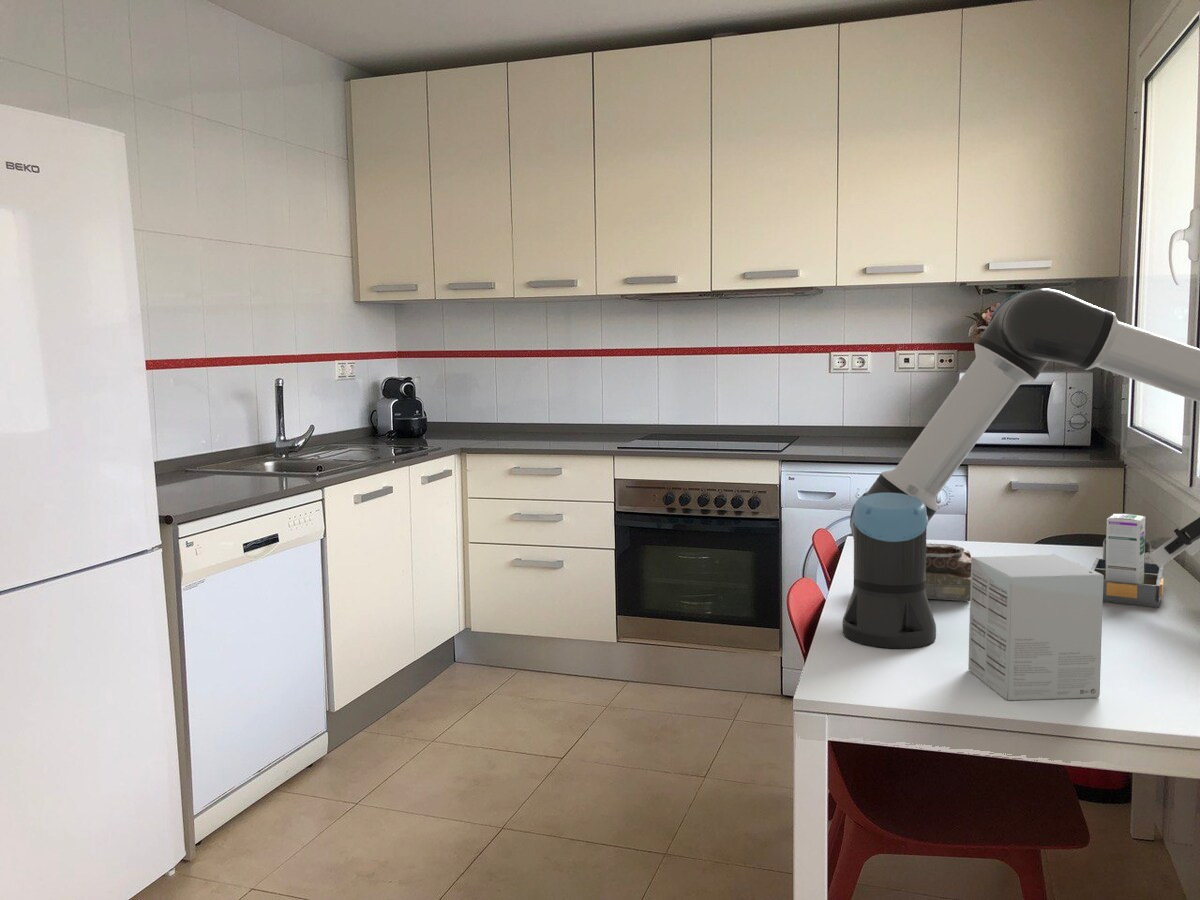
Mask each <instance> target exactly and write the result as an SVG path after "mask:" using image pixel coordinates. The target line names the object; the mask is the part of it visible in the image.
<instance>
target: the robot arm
mask: <svg viewBox="0 0 1200 900" xmlns="http://www.w3.org/2000/svg"><path fill="white" fill-rule="evenodd" d="M973 347H974V351H975V352H974V353H975V359H973V361H972V363H971V364H970V366H969V367H968V368H967V370H966V371H965V372H964V374H962V376H961V378H960V380H958V382H957V383H956V385H955V387H954V388H953V389H952V390H951V391H950V393H949V394H948V395H947V397H946V398H945V400H944V401H943V403H942V404H941V405H940V407H939V408H938V409H937V411H936V412H935V414H934V415H933V416H932V418H931V419H930V420H929V421H928V423H927V425H926V426H925V427H924V428H923V430H922V431H921V433H920V434H919V435H918V437H917V438H916V440H914V442H913V444H911V446H910V447H909V449H908V451H907V452H906V453H905V455H903V457H902V459H901V460H900V461H899V462H898V464H897V465H896V467H895V468H894V469H891V470H885V471H882V472H881V473H880V474H879V476H878V477H877V479H876V480H874V482H873V484H872V485H871V487H870V488H869V489H868V491H866V492H865V493H862V495H861V496H859V498H857V500H856V501H855V503H854V504H853V507H852V509H851V511H850V516H849V518H850V519H849V527H850V529H851V531H850V532H851V535H852V539H853V587H852V591H851V595H850V598H849V601H848V604H847V607H846V609H845V612H844V615H843V617H842V634H843V636H844V637H846V638H847V639H849V640H852V641H853V642H855V641H856V642H855V643H858V642H859V644H862V643H863V644H862V645H866V644H868V645H867V646H871V645H872V647H878V648H886V649H887V648H889V649H911V648H919V647H924V646H927V645H931V644H932V643H934V642H935V641H936V638H937V624H936V621H935V618H934V615H933V611H932V609H931V605H930V603H929V598H927V596H926V543H927V528H928V525H929V522H930V520H931V519H932V518H933V516H934V515H935V514H936V513H937V511H938V509H939V508H938V504H937V503H938V502H937V496H938V495H939V494H940V492H941V491H942V490H943V488H944V487H945V485H946V484H947V483H948V481H949V480H950V479H951V478H952V476H953V475H954V474H955V472H956V471H957V469H959V467H960V465H961V464H962V463H963V461H965V459H966V457H967V456H968V455H969V453H970V452H971V451H972V449H973V448H974V447H975V445H976V444H977V443H978V441H980V439H981V437H982V436H983V435H984V433H985V432H986V430H987V429H989V427H990V425H991V423H993V421H994V420H995V418H997V416H998V414H999V413H1000V412H1001V410H1002V409H1003V408H1004V407H1005V405H1006V404H1007V403H1008V401H1009V400H1010V399H1011V397H1012V396H1013V394H1015V392H1016V390H1017V389H1018V388H1019V386H1020V385H1023V384H1027V383H1029V384H1030V383H1033V382H1035V381H1036V379H1038V377H1039V375H1040V374H1041V372H1042V371H1043V370H1044V369H1045V368H1046V366H1047V365H1048V363H1049V362H1053V363H1061V364H1065V365H1069V366H1073V367H1076V368H1080V369H1082V370H1085V371H1088V370H1091V369H1094V368H1099V369H1102V370H1105V371H1107V372H1110V373H1112V374H1113V373H1114V374H1116V375H1119V376H1121V377H1125V378H1128V379H1131V380H1134V381H1137V382H1140V383H1142V384H1145V385H1148V386H1151V387H1154V388H1158V389H1160V390H1163V391H1166V392H1169V393H1171V394H1174V395H1177V396H1181V397H1183V398H1185V399H1189V400H1192V401H1195V402H1197V403H1200V348H1198V347H1194V346H1191V345H1189V344H1186V343H1183V342H1180V341H1177V340H1175V339H1172V338H1168V337H1165V336H1162V335H1159V334H1156V333H1153V332H1151V331H1147V330H1145V329H1142V328H1139V327H1137V326H1134V325H1133V326H1132V325H1130V324H1127V323H1124V322H1122V321H1119V320H1118V318H1117V316H1116V313H1115V312H1112V311H1110V310H1107V309H1104V308H1101V307H1098V306H1097V305H1093V304H1092V303H1089V302H1086V301H1084V300H1083V299H1080V298H1078V297H1075V296H1073V295H1071V294H1068V293H1065V292H1063V291H1061V290H1057V289H1053V288H1037V289H1033V290H1028V291H1022V292H1019V293H1015V294H1012V295H1011V296H1009V297H1007V298H1006V299H1005V300H1003V301H1002V302H1001V303H1000V304H999V305H998V306H997V307H996V308H995V309H994V311H993V313H992V315H991V317H990V320H989V324H988V325H987V327H986V328H985V330H984V331H983V333H981V335H980V337H978V339H977V341H975V343H974V346H973ZM1173 532H1174V533H1175V535H1174V536H1172V537H1171V538H1169V539H1168V540H1166V541H1165V542H1164V543H1162V545H1160V546H1158V547H1157V548H1156V549H1155V550H1154V551H1151V554H1149V555H1148V556H1149V557H1150V558H1151V560H1152V561H1153V562H1154V564H1157V565H1158V567H1162V566H1163V565H1164V566H1165V565H1166V564H1168V562H1170V561H1171V560H1173V559H1174V558H1176V557H1178V555H1179V554H1181V553H1183V552H1184V551H1185V552H1186V553H1187V554H1188V555H1189V556H1190V557H1193V555H1196V553H1198V552H1199V551H1200V516H1198V518H1196V519H1195V520H1193V521H1192V522H1190V523H1188V524H1187V525H1186V526H1184V527H1182V528H1181V529H1179V528H1178V527H1176V528H1175V529H1174V530H1173Z"/></svg>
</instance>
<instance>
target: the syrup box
mask: <svg viewBox="0 0 1200 900" xmlns="http://www.w3.org/2000/svg"><path fill="white" fill-rule="evenodd" d="M1112 514H1113V515H1112V516H1110V515H1109V516H1108V518H1106V535H1105V536H1106V537H1105V538H1106V574H1105V580H1109V581H1119V582H1128V583H1138V584H1144V566H1145V538H1146V534H1145V516H1146V515H1143V516H1141V514H1137V515H1133V514H1134V513H1124V514H1120V513H1118V514H1117V513H1112Z"/></svg>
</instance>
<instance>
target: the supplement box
mask: <svg viewBox="0 0 1200 900" xmlns="http://www.w3.org/2000/svg"><path fill="white" fill-rule="evenodd" d="M1103 580H1104V575H1102V574H1100V573H1098V572H1096V571H1093V570H1091V568H1089V567H1086V566H1083V565H1080V564H1079V563H1076V562H1075V561H1071V560H1069V559H1067V558H1064V557H1062V556H1059V555H1057V554H1037V555H1036V554H1035V555H1005V556H1002V555H1001V556H971V589H970V601H969V630H968V631H969V632H968V662H967V663H968V670H969V671H970V672H971V673H972V674H974V675H975V676H976V677H978V679H980V680H981V681H982V682H983V683H985V684H986V685H987V686H988V687H990V689H992V690H993V691H994V692H996V693H997V694H998V695H999V696H1001V697H1002V698H1003V699H1004V700H1005V701H1032V700H1061V699H1062V700H1063V699H1064V700H1067V699H1068V700H1069V699H1092V698H1096V699H1097V698H1099V697H1100V696H1101V695H1100V694H1101V670H1102V669H1101V663H1102V635H1103V634H1102V632H1103V631H1102V630H1103V603H1104V602H1103Z"/></svg>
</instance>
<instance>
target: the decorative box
mask: <svg viewBox="0 0 1200 900" xmlns="http://www.w3.org/2000/svg"><path fill="white" fill-rule="evenodd" d="M971 557H972V555H971V552H970V551H969V550H967V549H964V547H962V546H958V545H954V544H946V543H932V542H931V543H930V542H929V543H927V542H926V596H927V599H928V600H943V601H944V600H945V601H959V602H960V601H962V602H970V589H971Z"/></svg>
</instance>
